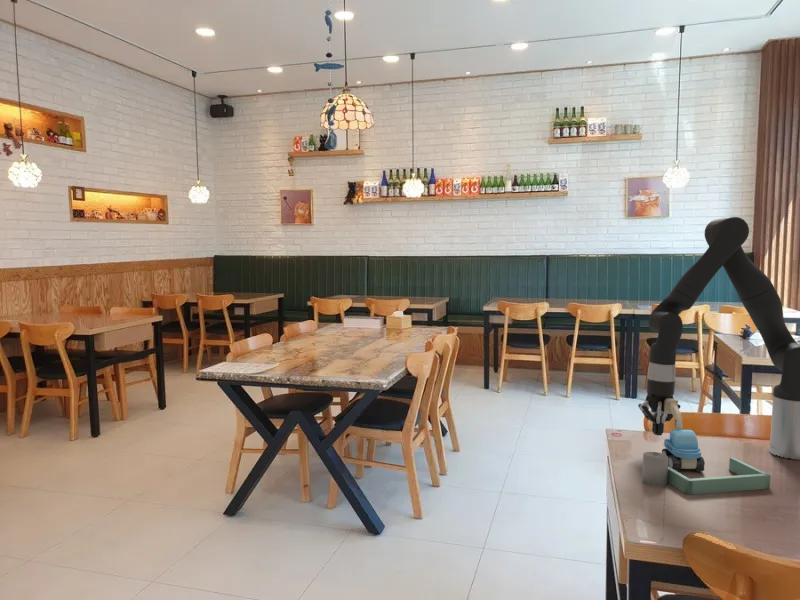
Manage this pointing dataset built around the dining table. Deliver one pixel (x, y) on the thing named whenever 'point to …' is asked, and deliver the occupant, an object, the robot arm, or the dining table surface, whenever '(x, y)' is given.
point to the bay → (722, 480)
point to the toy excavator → (681, 442)
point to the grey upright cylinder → (655, 469)
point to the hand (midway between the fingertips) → (657, 434)
